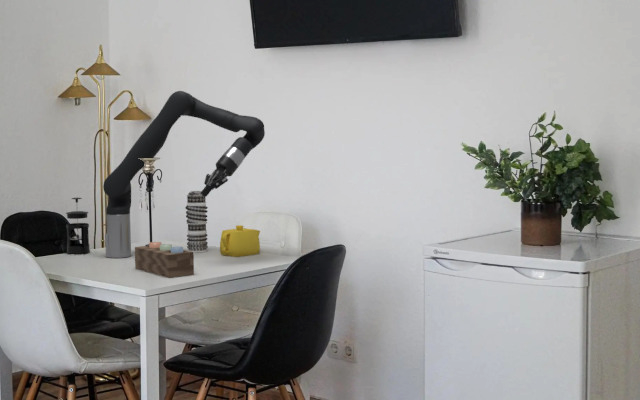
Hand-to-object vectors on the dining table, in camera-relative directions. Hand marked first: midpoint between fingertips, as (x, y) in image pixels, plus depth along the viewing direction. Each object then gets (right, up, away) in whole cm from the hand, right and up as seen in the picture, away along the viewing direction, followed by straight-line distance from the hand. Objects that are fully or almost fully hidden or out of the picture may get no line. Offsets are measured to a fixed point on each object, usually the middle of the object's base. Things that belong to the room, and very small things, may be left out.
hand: (203, 195), depth 319 cm
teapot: (+12, -24, +30) cm, 40 cm away
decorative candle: (-7, -23, +38) cm, 45 cm away
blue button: (-7, -24, -17) cm, 30 cm away
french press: (-56, -24, +35) cm, 70 cm away
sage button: (-12, -24, -11) cm, 29 cm away
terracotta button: (-17, -23, -5) cm, 29 cm away
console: (-13, -28, -11) cm, 32 cm away
